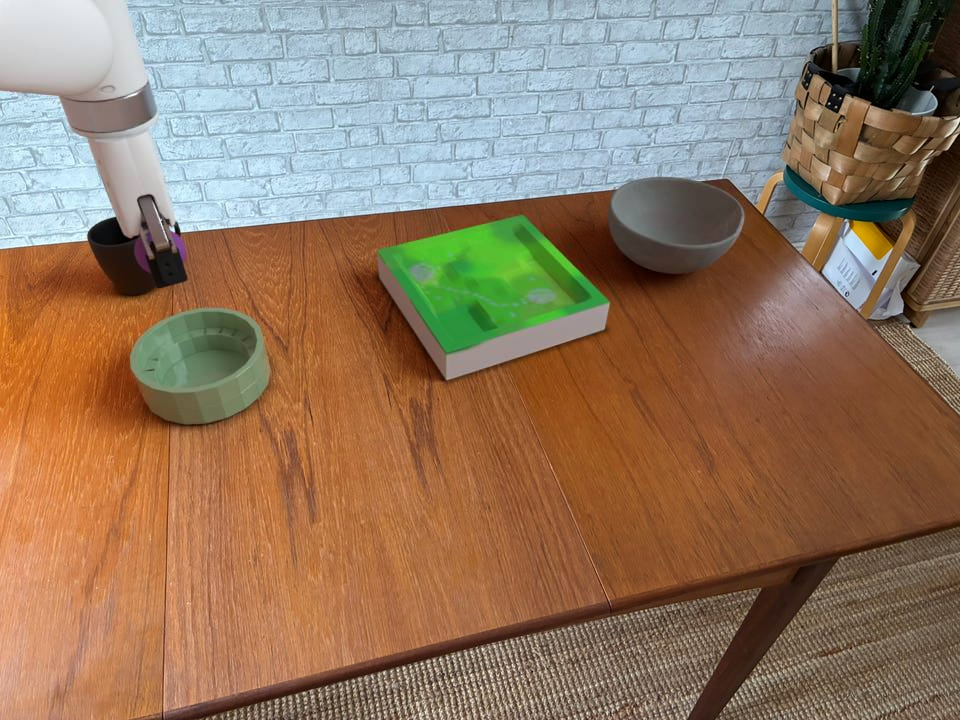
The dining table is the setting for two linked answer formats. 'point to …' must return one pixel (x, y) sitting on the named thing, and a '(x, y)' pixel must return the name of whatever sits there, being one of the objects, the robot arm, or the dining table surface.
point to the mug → (120, 257)
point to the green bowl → (201, 365)
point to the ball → (140, 247)
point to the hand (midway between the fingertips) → (165, 268)
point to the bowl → (673, 223)
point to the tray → (489, 294)
